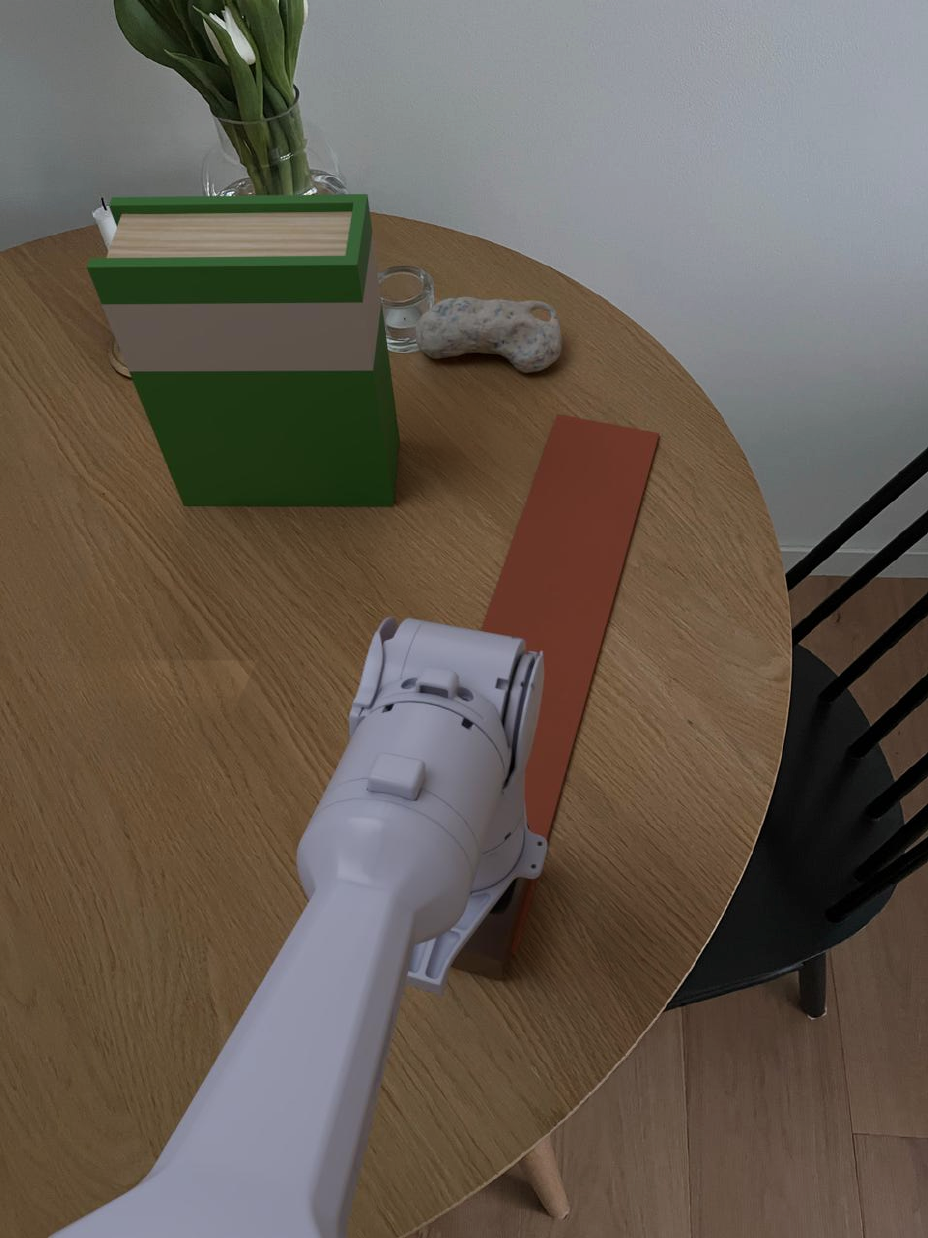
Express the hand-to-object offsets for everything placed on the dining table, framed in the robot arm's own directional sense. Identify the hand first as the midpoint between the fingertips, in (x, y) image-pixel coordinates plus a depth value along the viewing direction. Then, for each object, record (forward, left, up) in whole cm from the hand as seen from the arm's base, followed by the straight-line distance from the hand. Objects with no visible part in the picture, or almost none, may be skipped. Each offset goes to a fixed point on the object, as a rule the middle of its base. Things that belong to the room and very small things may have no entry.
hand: (472, 898), depth 60 cm
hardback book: (+34, +27, -9) cm, 44 cm away
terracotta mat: (+23, +2, -9) cm, 25 cm away
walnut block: (-2, 0, -6) cm, 6 cm away
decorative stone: (+52, +15, -9) cm, 55 cm away
